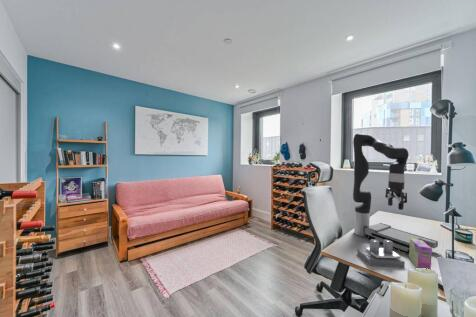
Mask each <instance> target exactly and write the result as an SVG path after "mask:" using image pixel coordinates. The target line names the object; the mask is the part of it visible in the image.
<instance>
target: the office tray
mask: <svg viewBox="0 0 476 317" xmlns="http://www.w3.org/2000/svg"><path fill="white" fill-rule="evenodd" d="M365 234H366V237H365V238H368V240H369V241H370V240H371V239H374V240H377V241H379V245H383V240H390V241H392V242H393V250H395V249H396V251H399V252H401V253H403V254H406V255H409V250H410V238H411V239H418V240H422V241H424V242H425V243H426V244H427V245H428V246H430V247H431V248H432V249H437V248H439V247H438V244H439V241H438V240H434V239H432V238H427V237H425V236H420V235H418V234H414V233H411V232H407V231H404V230H401V229H396V228H393V227H392V226H391V225H389V224H386V223H382V222H378V223H376V224H372V225H369V227H365Z"/></svg>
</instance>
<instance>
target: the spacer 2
mask: <svg viewBox="0 0 476 317" xmlns="http://www.w3.org/2000/svg"><path fill="white" fill-rule="evenodd" d="M382 248H383V251H384V252H385V253H388V254H393V252H394V249H393V242H392V241H390V240H383V246H382Z"/></svg>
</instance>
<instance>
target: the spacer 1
mask: <svg viewBox="0 0 476 317" xmlns="http://www.w3.org/2000/svg"><path fill="white" fill-rule="evenodd" d="M369 248H370V251H371V252H373V253H379V248H380V244H379V241H377V240H374V239H371V240H369Z"/></svg>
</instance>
